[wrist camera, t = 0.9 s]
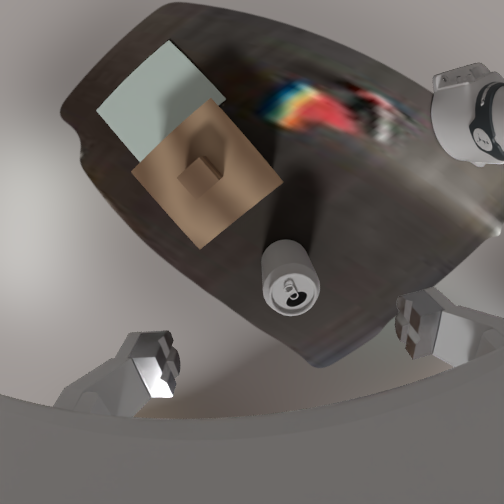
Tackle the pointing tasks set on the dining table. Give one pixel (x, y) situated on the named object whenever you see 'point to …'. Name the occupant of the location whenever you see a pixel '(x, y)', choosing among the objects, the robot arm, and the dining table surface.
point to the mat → (156, 99)
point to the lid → (206, 174)
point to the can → (289, 278)
